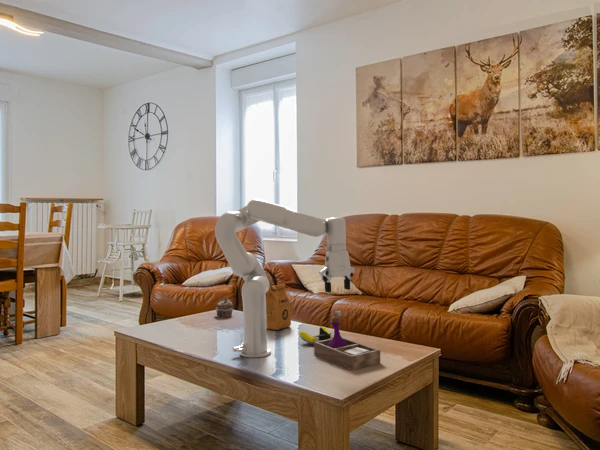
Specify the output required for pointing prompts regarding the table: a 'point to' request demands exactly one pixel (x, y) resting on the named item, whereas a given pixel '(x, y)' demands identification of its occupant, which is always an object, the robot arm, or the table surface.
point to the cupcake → (224, 308)
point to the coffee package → (278, 308)
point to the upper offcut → (356, 351)
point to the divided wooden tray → (344, 358)
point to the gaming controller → (322, 336)
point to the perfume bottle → (336, 333)
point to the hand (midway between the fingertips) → (337, 290)
